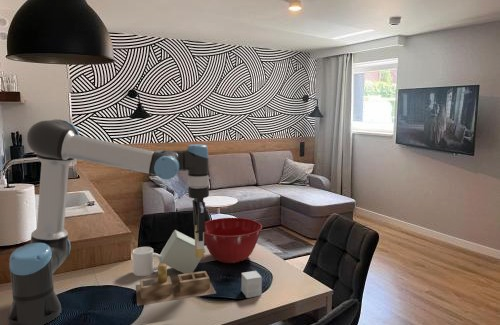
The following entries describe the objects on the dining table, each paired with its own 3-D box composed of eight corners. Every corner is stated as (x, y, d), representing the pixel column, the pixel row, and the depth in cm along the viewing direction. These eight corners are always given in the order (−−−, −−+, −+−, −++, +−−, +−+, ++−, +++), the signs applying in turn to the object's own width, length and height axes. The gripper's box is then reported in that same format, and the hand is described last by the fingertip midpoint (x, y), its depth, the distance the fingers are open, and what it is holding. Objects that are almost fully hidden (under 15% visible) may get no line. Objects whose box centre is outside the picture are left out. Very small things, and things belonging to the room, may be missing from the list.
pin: (196, 258, 139) (195, 227, 137) (194, 255, 142) (194, 225, 140) (204, 257, 140) (204, 226, 139) (203, 254, 143) (202, 224, 142)
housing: (161, 262, 149) (176, 237, 149) (160, 254, 158) (174, 229, 158) (190, 276, 153) (205, 251, 153) (187, 266, 162) (201, 243, 162)
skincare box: (241, 290, 141) (241, 272, 140) (256, 288, 143) (256, 270, 142) (246, 298, 135) (246, 279, 134) (262, 295, 138) (262, 276, 137)
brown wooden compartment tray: (137, 308, 128) (136, 278, 126) (135, 287, 143) (134, 260, 141) (216, 295, 137) (216, 267, 135) (207, 277, 152) (206, 251, 150)
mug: (164, 269, 159) (163, 246, 158) (160, 278, 151) (160, 253, 150) (136, 269, 159) (135, 246, 157) (131, 278, 151) (130, 254, 149)
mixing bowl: (192, 251, 179) (192, 220, 177) (246, 243, 191) (246, 214, 189) (211, 275, 154) (211, 239, 152) (272, 263, 166) (272, 230, 164)
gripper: (213, 189, 131) (214, 253, 135) (204, 181, 146) (204, 239, 149) (192, 191, 129) (193, 255, 132) (185, 182, 144) (186, 241, 147)
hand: (199, 246), depth 141 cm, fingers closed on pin, 3 cm apart
